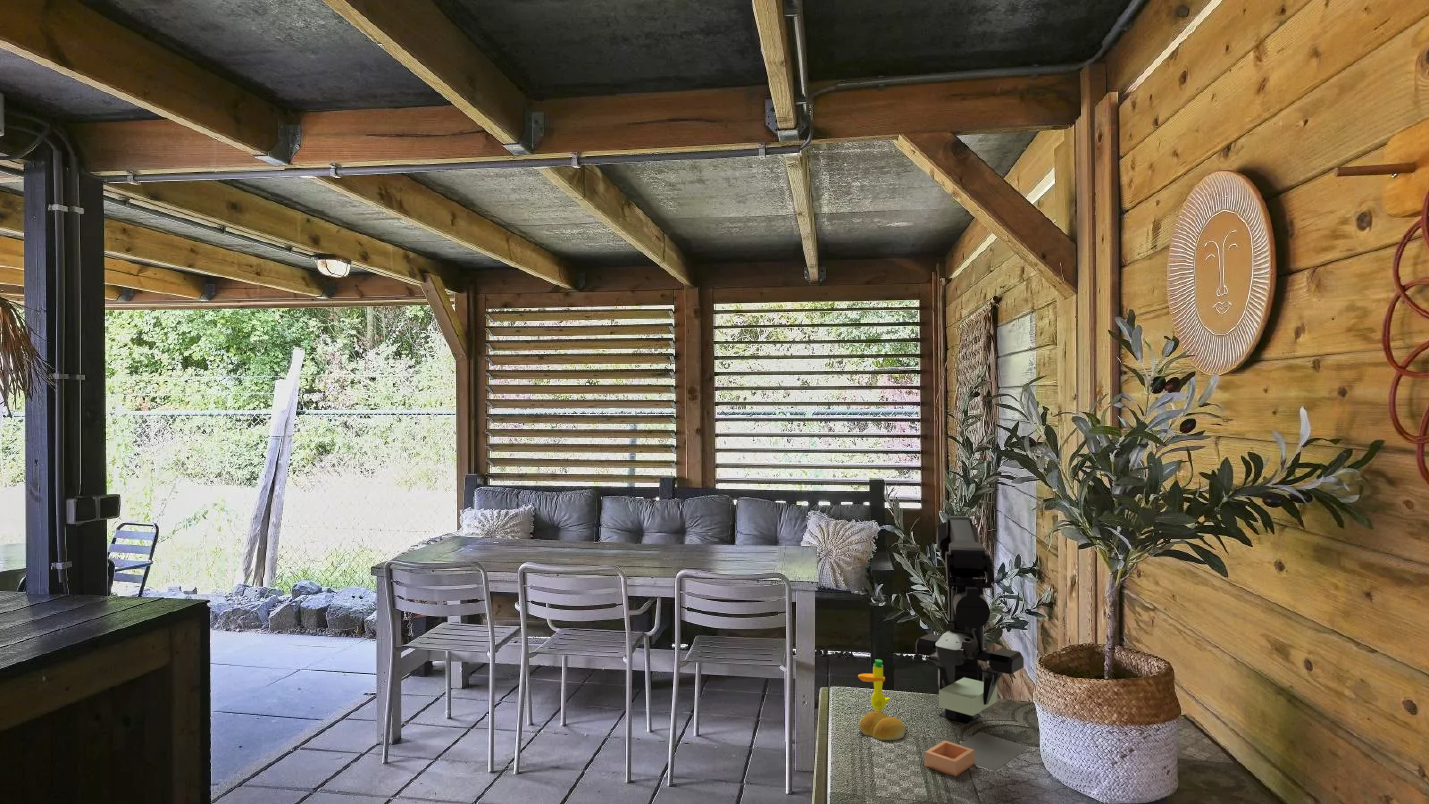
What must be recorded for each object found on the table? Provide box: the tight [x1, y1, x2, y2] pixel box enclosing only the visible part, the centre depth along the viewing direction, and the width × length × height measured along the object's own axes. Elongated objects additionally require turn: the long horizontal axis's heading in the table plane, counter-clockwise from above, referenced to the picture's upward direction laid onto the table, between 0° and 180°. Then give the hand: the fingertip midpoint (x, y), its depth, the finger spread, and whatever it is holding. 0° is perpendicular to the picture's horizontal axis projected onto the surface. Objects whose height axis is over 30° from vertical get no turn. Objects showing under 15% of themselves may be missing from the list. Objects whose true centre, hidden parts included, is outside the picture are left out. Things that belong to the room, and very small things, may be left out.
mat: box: [958, 731, 1030, 772], centre depth 149 cm, size 14×10×1 cm
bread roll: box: [858, 710, 906, 741], centre depth 159 cm, size 8×9×4 cm
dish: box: [924, 739, 975, 777], centre depth 143 cm, size 7×6×3 cm
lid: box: [938, 677, 998, 716], centre depth 146 cm, size 10×6×3 cm, turn 136°
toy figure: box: [857, 658, 891, 712], centre depth 167 cm, size 7×4×12 cm, turn 76°
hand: (968, 699), depth 146 cm, fingers closed on lid, 6 cm apart
